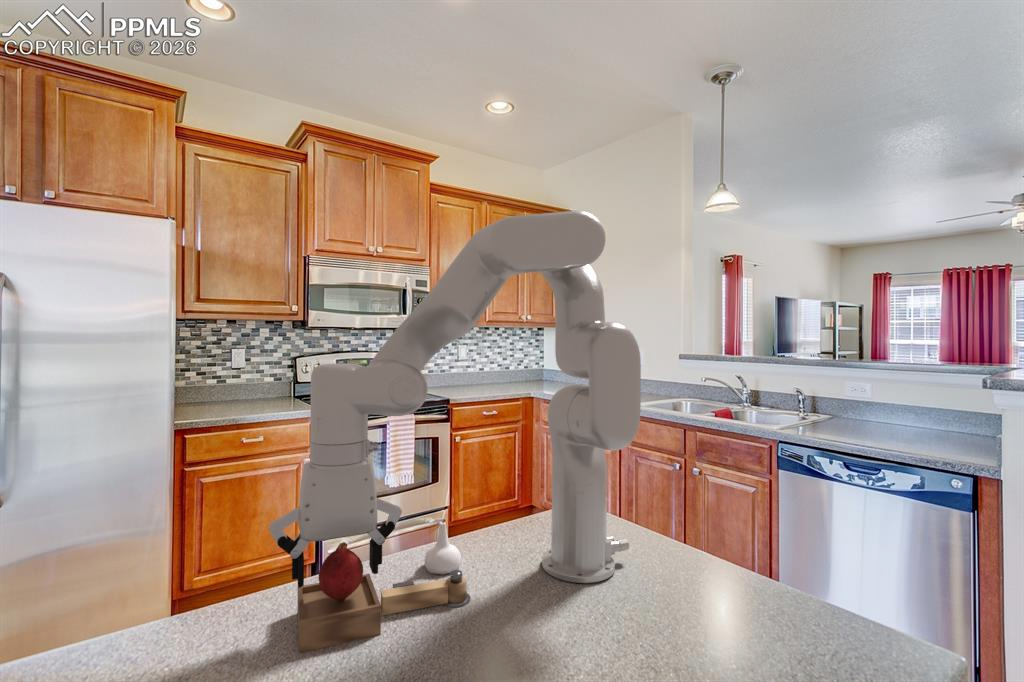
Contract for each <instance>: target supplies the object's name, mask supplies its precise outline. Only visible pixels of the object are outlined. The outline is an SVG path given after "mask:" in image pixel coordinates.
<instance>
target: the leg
mask: <svg viewBox="0 0 1024 682" xmlns="http://www.w3.org/2000/svg"><path fill="white" fill-rule="evenodd" d="M467 582H468V580H467V578H466V577H464V576H462V582H460V583H451V582H450V577H448V578H446V579H440V580H434V581H428V582H422V583H416V584H415V583H414V585H409V586H403V587H397V588H393V587H392V588H385V589H381V590H380V604H381V616H385V615H391V614H396V613H397V614H398V613H403V612H406V611H407V612H408V611H413V610H418V609H424V608H427V607H429V608H430V607H434V606H439V605H444V604H445V603H448V602H450V603H460V602H463V601H465V600H466V598H467V593H468V591H467V589H468V588H467V587H468V585H467V584H468V583H467Z"/></svg>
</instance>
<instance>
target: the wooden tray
mask: <svg viewBox="0 0 1024 682" xmlns="http://www.w3.org/2000/svg"><path fill="white" fill-rule="evenodd" d="M374 585H375V584H374V583H373V580H372V578H371V574H370V573H366V574H363V576H362V581H361V583H360V585H359V587H358V588H357V589H356V590H355V591H354V592H353V593H352V594H351V595H349V596H348V597H347V598H346V599H345V600H344V601H337V600H334V599H332V598H330V597H328V596H327V595H326V594H325V593H323V591H322V589H321V587H320V584H319V582H316V583H311V584H310V583H309V584H304V586H302V587H301V588H298V587H297V603H296V604H297V606H296V607H297V630H298V632H297V633H298V651H299V654H300V653H305V652H311V651H313V650H318V649H323V648H327V647H331V646H332V647H333V646H335V645H340V644H345V643H347V642H348V643H349V642H353V641H358V640H362V639H365V638H370V637H375V636H378V635H381V634H382V611H381V601H380V599H379V597H378V593H377V591H376V588H375V586H374Z"/></svg>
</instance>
